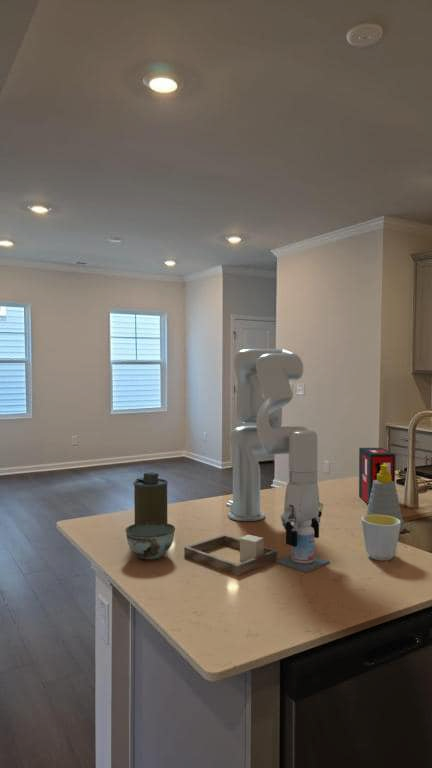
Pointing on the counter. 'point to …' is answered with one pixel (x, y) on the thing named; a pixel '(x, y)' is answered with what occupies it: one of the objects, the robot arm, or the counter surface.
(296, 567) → the slate mat
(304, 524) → the pill bottle
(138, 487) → the canister
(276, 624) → the counter surface
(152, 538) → the bowl
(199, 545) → the parts frame
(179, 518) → the counter surface
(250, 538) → the tan box
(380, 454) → the cleaning product box
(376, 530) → the mug
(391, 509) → the soap bottle
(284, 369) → the robot arm
